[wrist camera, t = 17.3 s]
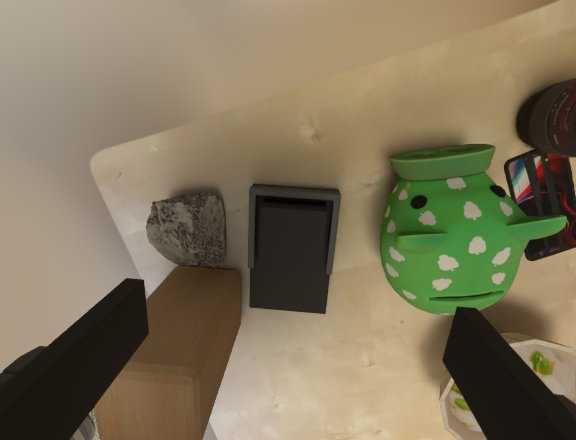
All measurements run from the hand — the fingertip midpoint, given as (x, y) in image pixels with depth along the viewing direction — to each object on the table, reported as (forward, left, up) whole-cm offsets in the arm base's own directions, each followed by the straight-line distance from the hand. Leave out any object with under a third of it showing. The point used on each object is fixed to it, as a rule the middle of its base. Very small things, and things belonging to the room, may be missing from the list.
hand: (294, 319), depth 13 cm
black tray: (-1, -10, -29) cm, 30 cm away
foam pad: (-1, -6, -28) cm, 28 cm away
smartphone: (+31, 0, -29) cm, 43 cm away
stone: (-14, -6, -29) cm, 33 cm away
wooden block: (-13, -18, -29) cm, 36 cm away
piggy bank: (+16, -3, -29) cm, 33 cm away
